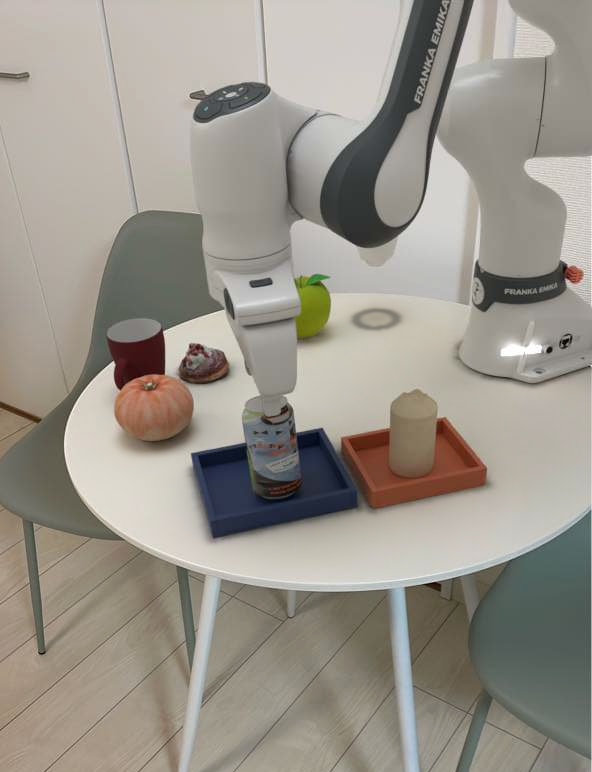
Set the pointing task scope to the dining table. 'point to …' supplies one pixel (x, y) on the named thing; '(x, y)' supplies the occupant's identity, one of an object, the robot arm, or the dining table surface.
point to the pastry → (203, 364)
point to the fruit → (312, 305)
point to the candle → (412, 434)
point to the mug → (136, 349)
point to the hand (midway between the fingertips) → (262, 391)
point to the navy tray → (251, 511)
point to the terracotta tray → (384, 487)
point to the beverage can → (272, 449)
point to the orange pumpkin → (154, 407)
